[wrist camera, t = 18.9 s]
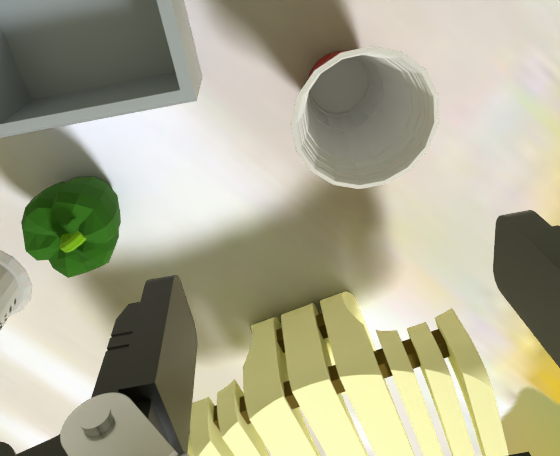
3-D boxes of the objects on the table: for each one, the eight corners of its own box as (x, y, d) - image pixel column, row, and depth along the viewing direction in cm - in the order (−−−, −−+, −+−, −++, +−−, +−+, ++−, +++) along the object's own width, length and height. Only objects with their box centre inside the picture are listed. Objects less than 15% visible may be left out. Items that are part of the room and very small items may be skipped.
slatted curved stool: (417, 250, 56) (487, 365, 41) (445, 347, 64) (513, 474, 48) (176, 338, 60) (157, 475, 44) (231, 419, 67) (230, 560, 52)
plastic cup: (254, 87, 46) (260, 128, 35) (340, -6, 43) (375, 9, 32) (332, 162, 50) (359, 218, 40) (416, 83, 47) (469, 121, 36)
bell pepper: (70, 247, 52) (38, 306, 44) (29, 178, 48) (-15, 229, 40) (145, 224, 52) (128, 280, 43) (110, 153, 48) (83, 199, 39)
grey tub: (-60, -98, 37) (-127, -109, 30) (150, -139, 37) (131, -159, 30) (28, 110, 45) (-8, 139, 38) (202, 77, 45) (196, 100, 38)
